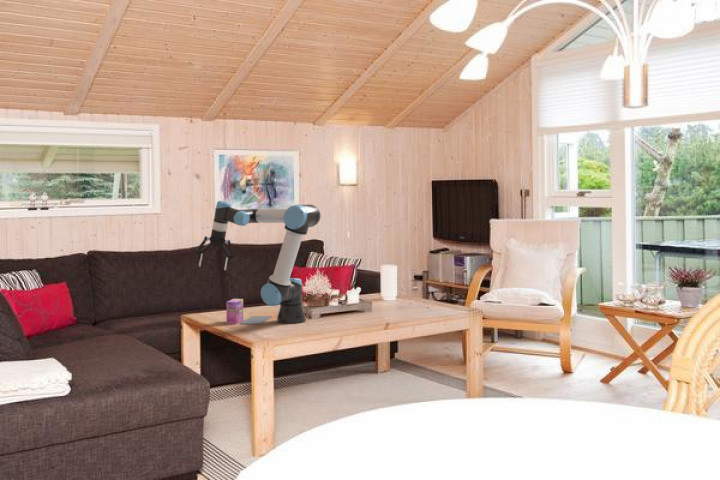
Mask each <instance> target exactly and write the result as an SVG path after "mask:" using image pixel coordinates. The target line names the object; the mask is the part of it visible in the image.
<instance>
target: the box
mask: <svg viewBox="0 0 720 480" xmlns="http://www.w3.org/2000/svg"><path fill="white" fill-rule="evenodd" d="M225 305H226V324H227V325H237V324H239V323H241V322H243V321H244V299H243V298H232V299H230V300H228V301H226V304H225Z"/></svg>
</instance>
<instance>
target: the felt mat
mask: <svg viewBox="0 0 720 480" xmlns="http://www.w3.org/2000/svg"><path fill="white" fill-rule="evenodd" d="M271 318H273V316H272V315H251V316H250V317H248V318H246V319H245V320H243V321H241V322H240V323H238V324H239V325H262V324H263V323H265V322H266V321H267V320H270V319H271Z"/></svg>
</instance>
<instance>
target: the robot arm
mask: <svg viewBox="0 0 720 480" xmlns="http://www.w3.org/2000/svg"><path fill="white" fill-rule="evenodd" d="M214 209H215V211H214V219H213V223H212V229H211V233H210V237H209V236H207V235H205V236H204V237H203V240H202V241H201V243H200V244H199V246H198V247H197V248H196V250H195V253H196V254H198V257H197V260H198V261H199V262H198V267H200V268H201V265H202V260H203V253H205V252H206V251H208V250H209V249H210V248H211V247H214V248H215V247H217V248H221V249H222V250H223V252H224V254H225V256H226V259H225V262H224V268H223V269H224V271H227V267H228V266H227V265H230V262H231V259H234V258H235V255H234V253H233V249H232V246H231V240H230V239H228V240H227V239H226V236H227V229H228V224H229V222H230V223H231V224H234V225H237V226H242V227H245V226H247V225H248V224H284V229H285V231H286V232H285V235H284V238H283V241H282V246H281V247H280V252H279V253H278V254H279V255H278V258H277V261H276V264H275V266H274V267H275V268H274V271H273V274H272V275H270V276H269V277H268V280H267V283H265V284H264V285H263V286H262V287H261V289H260V296H261V299H262V301H263V303H265V305H267V306H269V307H273V306H274V307H277V306H279V310H278V314H277V317H276V321H277V323H280V324H298V323H299V324H300V323H304V322H306V320H307V319H306V318H307V317H306V313H305V311H304V307H303V281H302V279H301V278H297V277H296V278H295V277H291V276H292V275H291V274H292V272H293V269H294V265H295V262H296V259H297V256H298V252H299V249H300V247H301V244H302V239H303V237H305V236H307V234H308V231H309V228H312V227H315V226H316V225H318V224H319V222H320V220H321V216H322V215H321V211H320V210H319V208H318V207H317V206H315V205H314V204H294V205H290V206H288V207H287V208H250V209H249V208H248V209H237V208H233V207H232V203H231V202H229V201H226V200H217V202H216V206H215V208H214ZM208 241H209V243H208V244H207V245H205V244H206V243H207V242H208ZM225 243H226V245H227V246H228V250H229V252H228V250H227V249H226V247H225V245H224V244H225ZM204 245H205V246H204ZM203 246H204V247H203Z"/></svg>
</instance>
